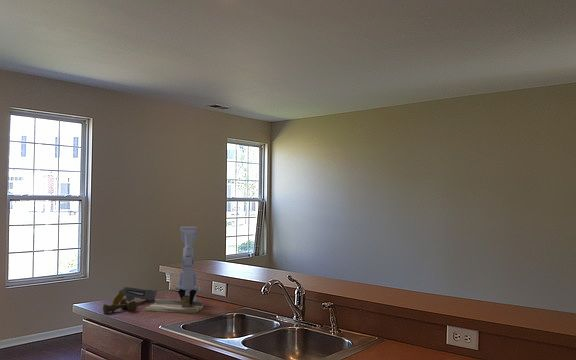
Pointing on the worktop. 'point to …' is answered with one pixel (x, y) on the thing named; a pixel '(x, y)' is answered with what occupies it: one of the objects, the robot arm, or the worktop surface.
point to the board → (174, 306)
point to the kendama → (121, 306)
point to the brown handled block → (186, 301)
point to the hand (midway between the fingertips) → (187, 303)
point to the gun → (135, 294)
